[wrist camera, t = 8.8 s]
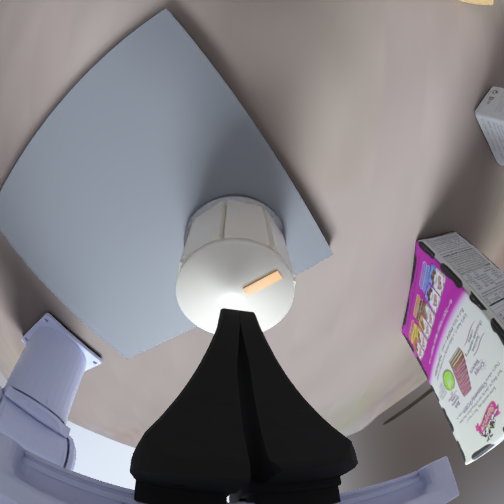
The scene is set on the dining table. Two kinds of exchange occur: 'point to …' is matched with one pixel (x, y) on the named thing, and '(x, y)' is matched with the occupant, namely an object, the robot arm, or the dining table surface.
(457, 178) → the dining table surface
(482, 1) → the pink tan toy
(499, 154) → the skincare box
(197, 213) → the grey disc
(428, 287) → the candy bar box
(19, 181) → the board
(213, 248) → the knob
